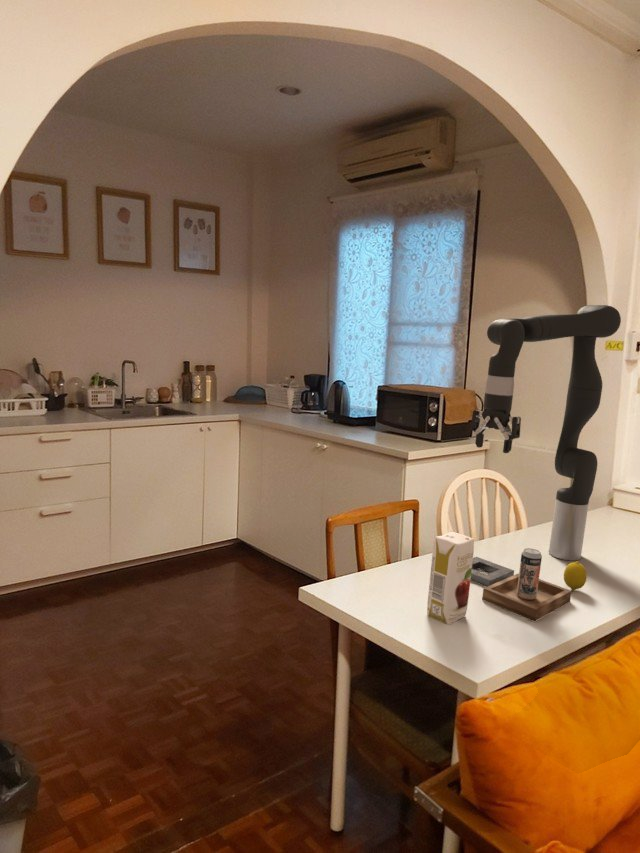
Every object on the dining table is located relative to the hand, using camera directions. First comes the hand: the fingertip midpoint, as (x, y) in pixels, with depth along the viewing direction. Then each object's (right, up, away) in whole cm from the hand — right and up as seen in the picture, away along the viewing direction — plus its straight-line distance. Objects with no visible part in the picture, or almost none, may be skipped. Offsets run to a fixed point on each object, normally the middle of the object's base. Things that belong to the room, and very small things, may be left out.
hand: (492, 449), depth 175 cm
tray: (+3, -37, -19) cm, 42 cm away
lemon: (+18, -37, -11) cm, 42 cm away
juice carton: (-19, -37, -31) cm, 52 cm away
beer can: (+3, -36, -19) cm, 41 cm away
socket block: (-4, -34, -4) cm, 34 cm away
